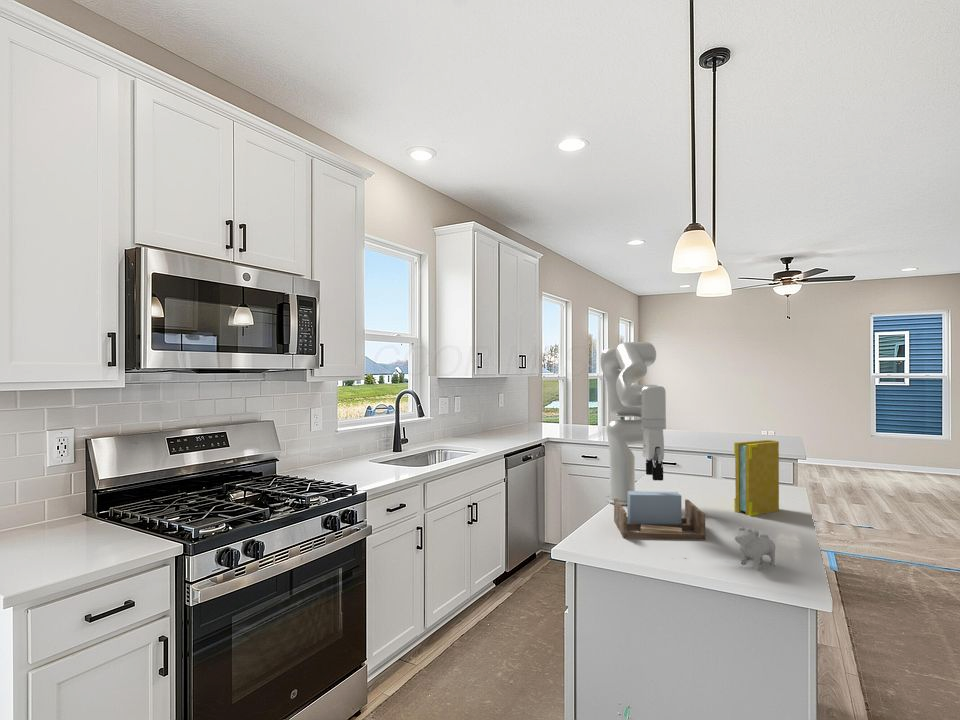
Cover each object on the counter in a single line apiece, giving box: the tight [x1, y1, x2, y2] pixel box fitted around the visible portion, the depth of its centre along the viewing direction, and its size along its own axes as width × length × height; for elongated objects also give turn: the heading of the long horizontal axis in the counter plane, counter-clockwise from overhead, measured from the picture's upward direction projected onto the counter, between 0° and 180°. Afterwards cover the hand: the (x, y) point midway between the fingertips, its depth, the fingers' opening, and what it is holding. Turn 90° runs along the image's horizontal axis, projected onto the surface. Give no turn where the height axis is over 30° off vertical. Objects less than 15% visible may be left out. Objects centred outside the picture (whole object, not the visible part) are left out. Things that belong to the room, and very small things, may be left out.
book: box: [733, 439, 780, 517], centre depth 205 cm, size 17×7×25 cm, turn 114°
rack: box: [613, 498, 706, 541], centre depth 178 cm, size 18×24×9 cm
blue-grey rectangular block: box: [626, 490, 683, 525], centre depth 183 cm, size 5×16×12 cm, turn 85°
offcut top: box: [640, 524, 683, 533], centre depth 174 cm, size 4×12×2 cm, turn 71°
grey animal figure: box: [734, 526, 776, 571], centre depth 151 cm, size 5×13×11 cm, turn 118°
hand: (654, 477), depth 182 cm, fingers open, 9 cm apart
